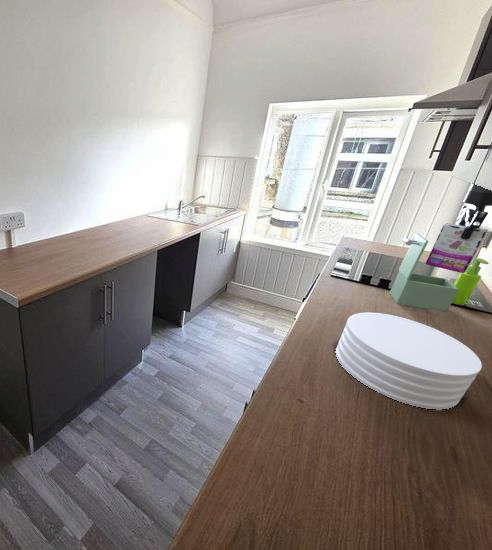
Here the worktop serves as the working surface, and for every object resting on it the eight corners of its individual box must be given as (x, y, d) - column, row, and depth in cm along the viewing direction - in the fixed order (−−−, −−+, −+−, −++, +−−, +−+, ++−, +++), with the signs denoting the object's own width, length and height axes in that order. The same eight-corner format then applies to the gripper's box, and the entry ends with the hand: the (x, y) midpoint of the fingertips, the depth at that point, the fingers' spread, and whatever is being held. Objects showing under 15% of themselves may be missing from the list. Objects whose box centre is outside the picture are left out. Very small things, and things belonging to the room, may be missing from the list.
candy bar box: (466, 271, 113) (489, 229, 106) (464, 273, 110) (487, 231, 103) (427, 261, 121) (446, 222, 114) (424, 264, 118) (443, 224, 111)
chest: (434, 301, 128) (446, 278, 123) (445, 313, 118) (458, 289, 114) (389, 292, 134) (399, 270, 130) (396, 303, 125) (407, 280, 120)
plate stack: (321, 365, 88) (333, 333, 83) (350, 331, 105) (362, 303, 100) (452, 430, 69) (478, 394, 64) (463, 376, 85) (484, 344, 81)
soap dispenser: (452, 304, 125) (477, 261, 117) (442, 297, 131) (465, 255, 123) (470, 307, 124) (496, 263, 115) (459, 299, 130) (483, 257, 121)
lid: (418, 233, 123) (402, 231, 125) (428, 241, 113) (411, 238, 115) (400, 270, 130) (386, 267, 132) (409, 279, 120) (393, 276, 122)
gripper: (510, 194, 96) (483, 243, 103) (490, 189, 107) (466, 233, 114) (478, 191, 99) (454, 239, 106) (461, 187, 111) (440, 230, 118)
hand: (460, 236), depth 110 cm, fingers closed on candy bar box, 6 cm apart
